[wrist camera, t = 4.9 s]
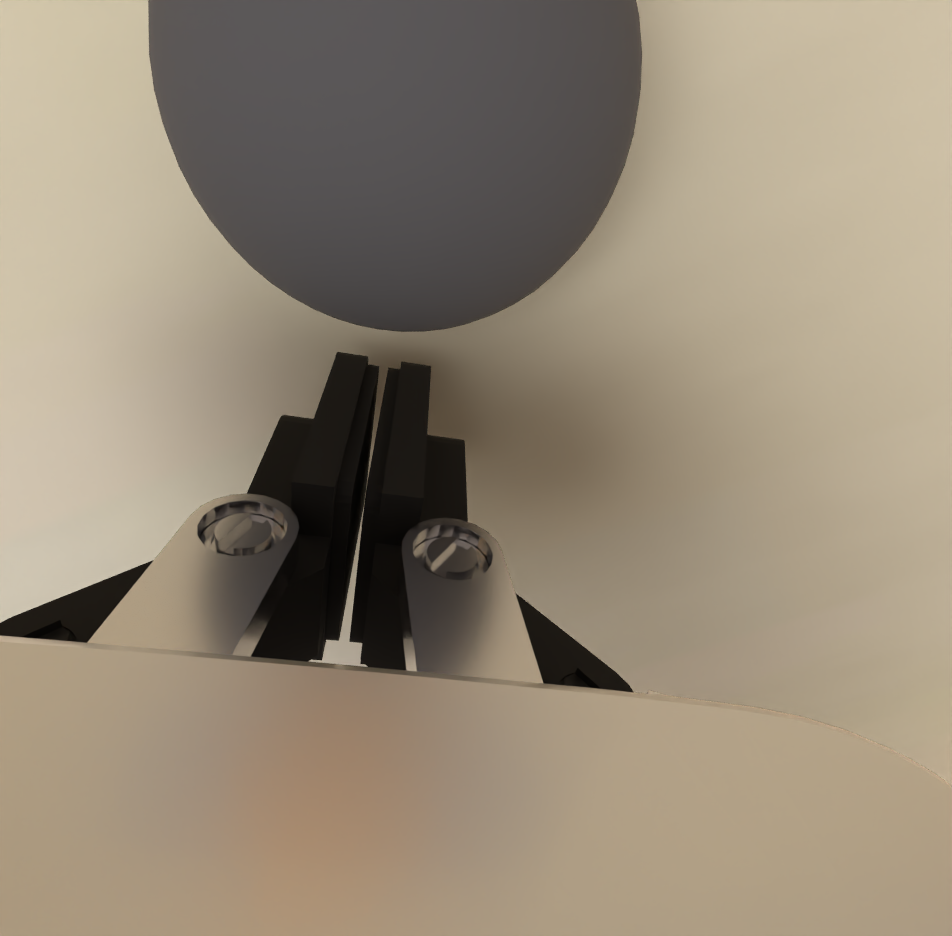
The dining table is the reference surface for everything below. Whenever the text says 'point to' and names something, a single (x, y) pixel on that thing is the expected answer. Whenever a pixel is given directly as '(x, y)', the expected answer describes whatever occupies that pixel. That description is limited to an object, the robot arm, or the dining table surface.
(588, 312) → the dining table surface
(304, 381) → the dining table surface
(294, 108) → the dark grey ball
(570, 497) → the dining table surface
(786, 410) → the dining table surface
